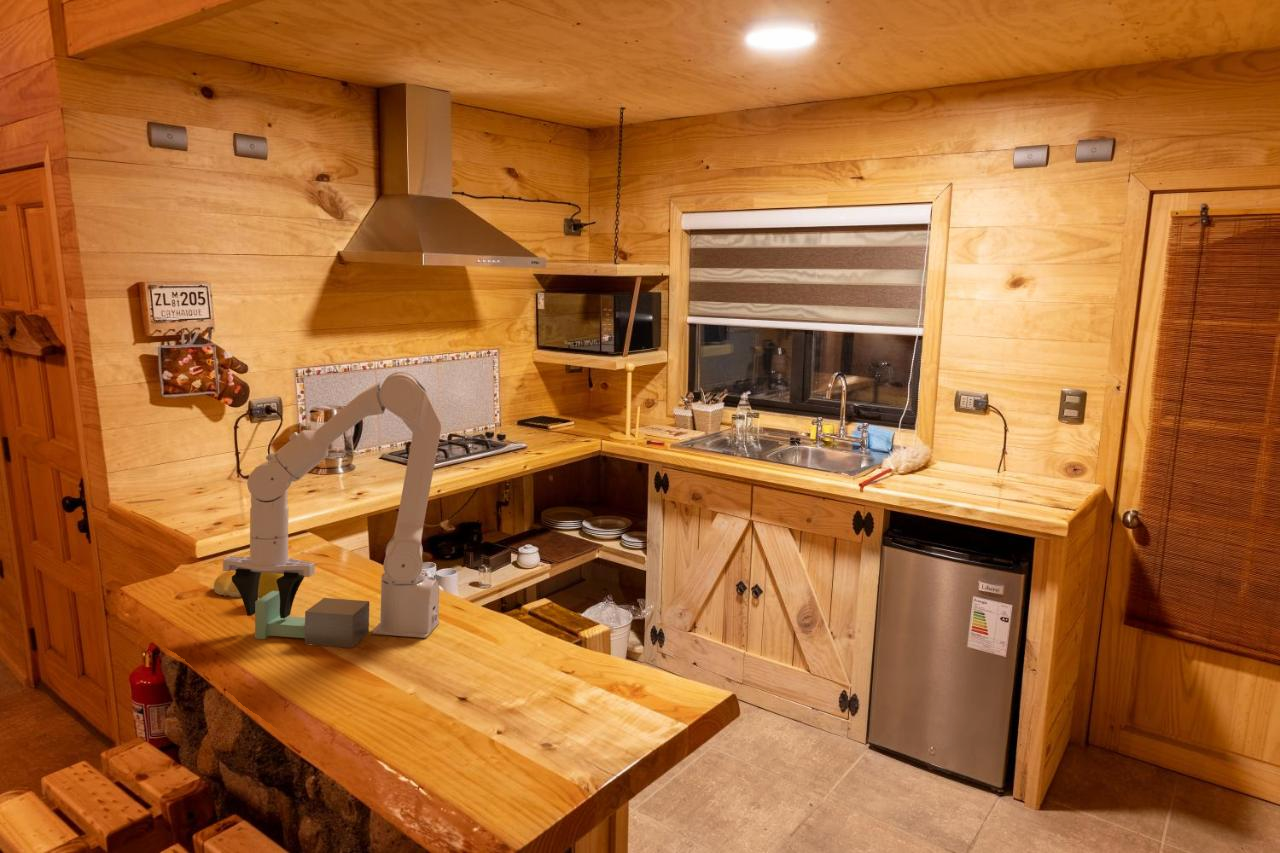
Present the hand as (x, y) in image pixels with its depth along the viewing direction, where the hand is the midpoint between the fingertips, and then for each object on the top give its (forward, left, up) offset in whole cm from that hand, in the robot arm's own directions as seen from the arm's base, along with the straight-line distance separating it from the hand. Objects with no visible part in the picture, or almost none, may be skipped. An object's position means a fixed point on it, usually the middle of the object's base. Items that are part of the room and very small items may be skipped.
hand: (268, 615), depth 135 cm
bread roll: (+16, -20, -4) cm, 25 cm away
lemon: (+7, -14, -3) cm, 15 cm away
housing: (-11, 0, -3) cm, 12 cm away
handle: (-5, 0, -3) cm, 6 cm away
